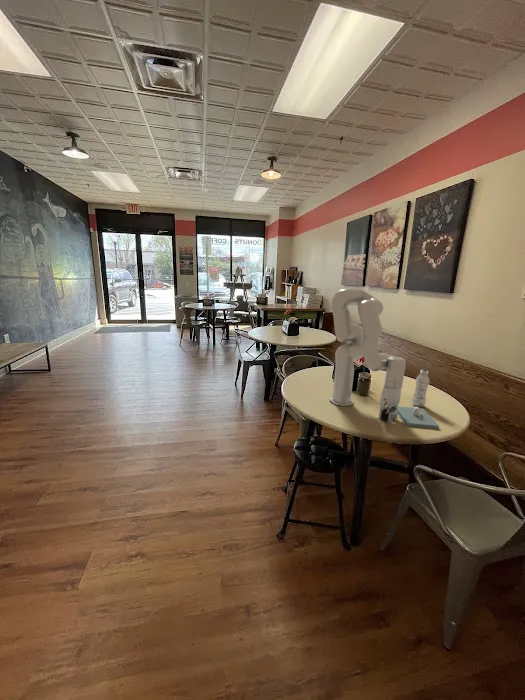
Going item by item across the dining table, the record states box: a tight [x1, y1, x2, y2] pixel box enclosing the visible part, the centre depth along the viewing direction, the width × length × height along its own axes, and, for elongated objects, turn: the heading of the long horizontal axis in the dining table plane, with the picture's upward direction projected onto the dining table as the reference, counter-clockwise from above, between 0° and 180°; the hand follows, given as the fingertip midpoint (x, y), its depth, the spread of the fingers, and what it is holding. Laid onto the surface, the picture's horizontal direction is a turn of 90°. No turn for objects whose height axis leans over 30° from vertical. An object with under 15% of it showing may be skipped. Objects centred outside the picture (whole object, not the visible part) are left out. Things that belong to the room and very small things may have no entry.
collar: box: [378, 405, 399, 424], centre depth 139 cm, size 6×6×5 cm
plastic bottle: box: [411, 368, 431, 408], centre depth 154 cm, size 6×7×20 cm
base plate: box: [396, 405, 440, 430], centre depth 141 cm, size 18×14×6 cm
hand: (387, 418), depth 140 cm, fingers closed on collar, 6 cm apart
